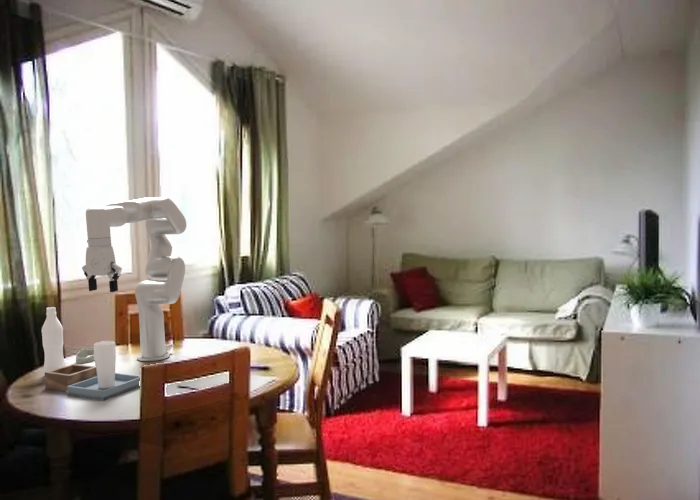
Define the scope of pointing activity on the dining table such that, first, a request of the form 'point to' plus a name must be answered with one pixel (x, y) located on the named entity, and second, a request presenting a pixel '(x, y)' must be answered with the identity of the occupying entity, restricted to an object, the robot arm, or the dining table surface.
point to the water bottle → (52, 341)
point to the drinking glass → (105, 363)
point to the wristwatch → (85, 355)
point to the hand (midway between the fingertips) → (103, 290)
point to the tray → (94, 392)
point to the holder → (68, 376)
